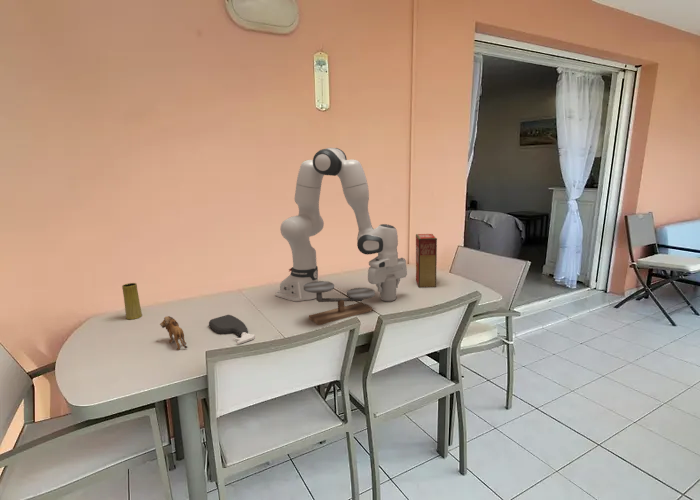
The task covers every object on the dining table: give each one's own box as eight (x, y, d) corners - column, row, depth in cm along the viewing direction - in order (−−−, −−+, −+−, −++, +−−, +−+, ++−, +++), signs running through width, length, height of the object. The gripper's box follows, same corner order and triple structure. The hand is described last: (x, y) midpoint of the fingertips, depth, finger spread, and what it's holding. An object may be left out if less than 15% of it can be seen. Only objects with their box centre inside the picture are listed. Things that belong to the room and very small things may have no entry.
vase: (124, 316, 165) (119, 284, 162) (140, 313, 169) (135, 281, 166) (127, 320, 160) (122, 288, 157) (143, 317, 164) (139, 284, 161)
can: (395, 302, 174) (395, 276, 171) (378, 301, 175) (378, 276, 173) (397, 297, 181) (397, 272, 178) (381, 296, 182) (380, 271, 180)
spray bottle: (232, 319, 160) (262, 339, 142) (206, 327, 153) (234, 348, 135) (231, 313, 159) (261, 331, 141) (205, 320, 152) (233, 340, 134)
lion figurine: (160, 340, 141) (157, 317, 139) (174, 335, 145) (172, 313, 143) (180, 352, 132) (177, 327, 130) (195, 346, 136) (192, 322, 134)
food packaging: (414, 279, 207) (415, 233, 201) (432, 279, 206) (433, 233, 201) (418, 287, 194) (418, 238, 188) (437, 287, 193) (438, 238, 188)
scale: (300, 319, 158) (298, 284, 154) (364, 302, 174) (363, 271, 171) (314, 328, 148) (312, 292, 145) (380, 310, 165) (380, 277, 162)
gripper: (401, 255, 182) (400, 283, 185) (365, 262, 171) (366, 292, 174) (410, 258, 177) (409, 287, 180) (374, 265, 166) (374, 296, 169)
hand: (388, 289), depth 177 cm, fingers closed on can, 7 cm apart
